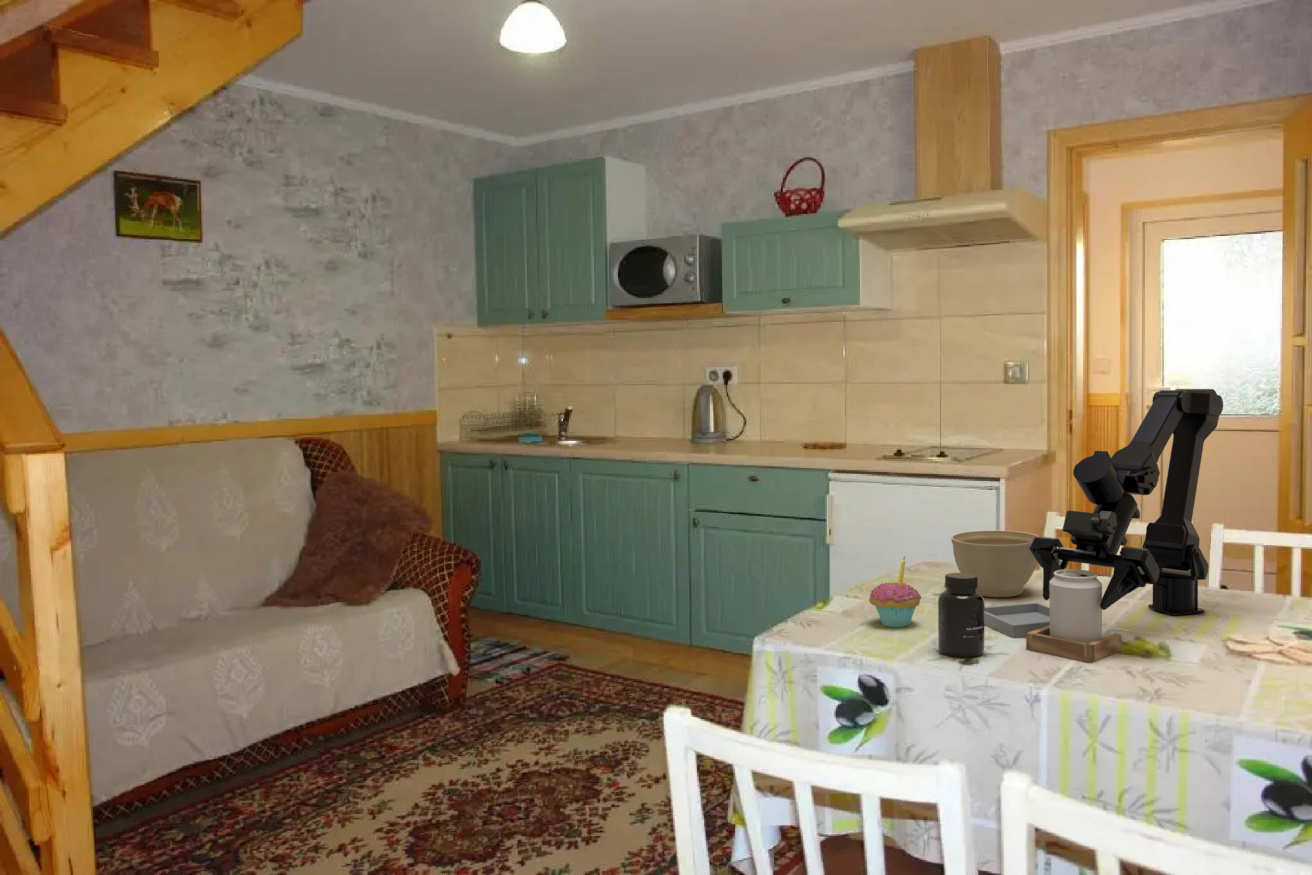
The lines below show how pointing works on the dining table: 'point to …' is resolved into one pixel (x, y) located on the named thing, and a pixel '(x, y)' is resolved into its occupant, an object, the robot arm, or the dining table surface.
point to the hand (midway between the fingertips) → (1072, 603)
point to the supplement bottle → (961, 617)
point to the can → (1075, 605)
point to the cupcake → (895, 601)
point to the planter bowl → (996, 560)
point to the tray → (1017, 618)
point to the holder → (1073, 645)
